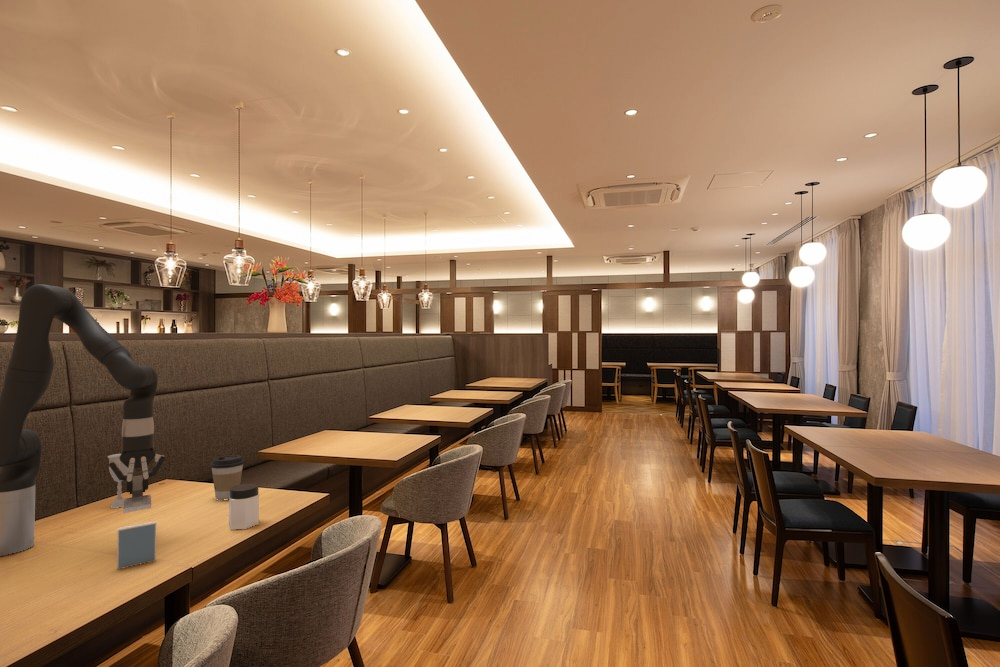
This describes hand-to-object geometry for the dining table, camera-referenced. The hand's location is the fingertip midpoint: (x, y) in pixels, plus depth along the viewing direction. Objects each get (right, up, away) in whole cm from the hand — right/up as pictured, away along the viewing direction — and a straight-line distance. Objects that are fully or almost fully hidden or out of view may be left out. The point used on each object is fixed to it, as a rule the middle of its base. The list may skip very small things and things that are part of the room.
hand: (137, 492), depth 139 cm
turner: (+2, -1, -2) cm, 3 cm away
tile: (+12, -14, -16) cm, 24 cm away
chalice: (-30, -15, +31) cm, 46 cm away
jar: (+25, -14, +11) cm, 31 cm away
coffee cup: (+4, -15, +39) cm, 42 cm away
